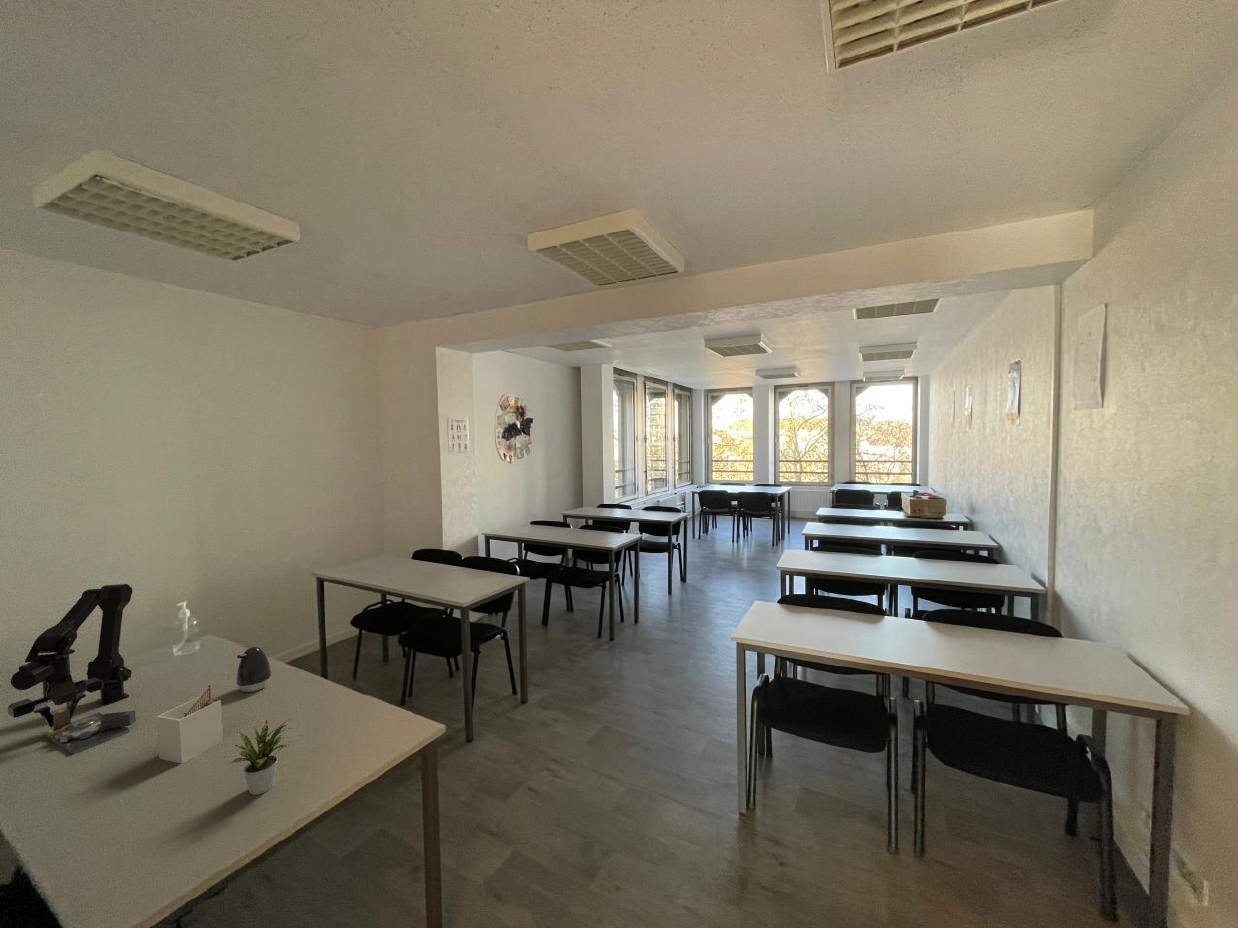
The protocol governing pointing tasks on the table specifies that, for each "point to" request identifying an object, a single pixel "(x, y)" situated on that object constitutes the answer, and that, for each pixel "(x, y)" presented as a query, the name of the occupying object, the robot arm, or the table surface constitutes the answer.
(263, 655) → the pump dispenser
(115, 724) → the sprocket
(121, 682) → the robot arm
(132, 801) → the table surface
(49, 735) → the base plate
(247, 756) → the house plant
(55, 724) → the striped gift box
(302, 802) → the table surface
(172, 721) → the white planter box
